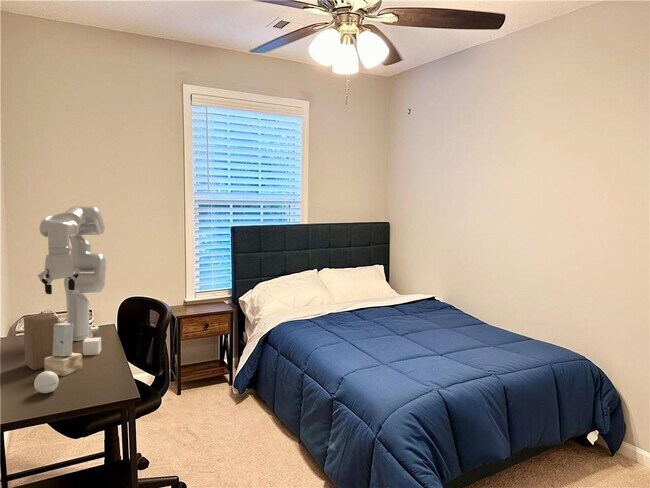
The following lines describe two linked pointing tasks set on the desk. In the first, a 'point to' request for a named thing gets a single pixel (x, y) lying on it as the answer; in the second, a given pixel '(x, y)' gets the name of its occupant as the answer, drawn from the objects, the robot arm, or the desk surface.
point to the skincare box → (63, 339)
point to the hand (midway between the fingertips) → (60, 291)
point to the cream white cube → (92, 346)
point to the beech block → (63, 364)
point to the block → (38, 339)
